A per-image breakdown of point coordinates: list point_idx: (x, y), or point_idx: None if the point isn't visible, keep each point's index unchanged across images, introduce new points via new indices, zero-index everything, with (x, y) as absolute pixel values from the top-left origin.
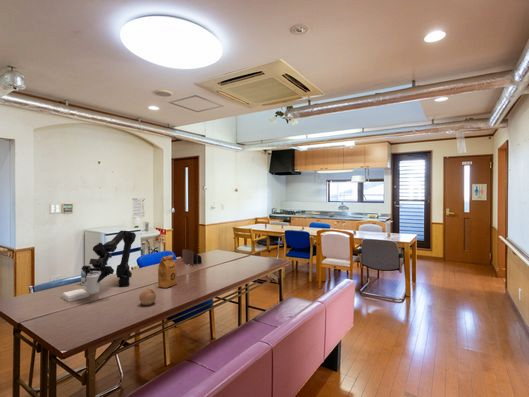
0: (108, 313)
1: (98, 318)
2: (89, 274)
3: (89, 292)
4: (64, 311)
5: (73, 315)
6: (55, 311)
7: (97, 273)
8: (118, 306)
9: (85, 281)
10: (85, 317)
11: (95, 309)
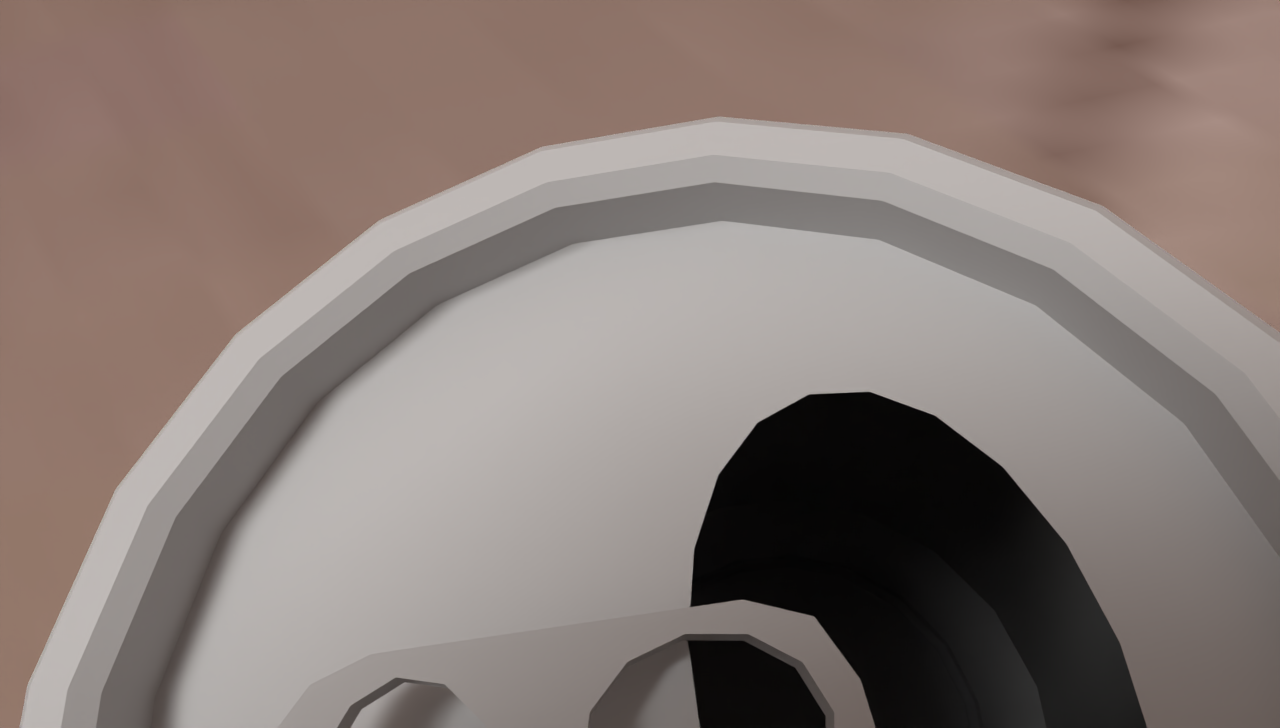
0: (96, 224)
1: (162, 47)
2: (673, 124)
3: (752, 501)
4: (972, 110)
5: (629, 27)
6: (1169, 67)
7: (24, 705)
8: (44, 553)
9: None
10: (375, 23)
11: None
